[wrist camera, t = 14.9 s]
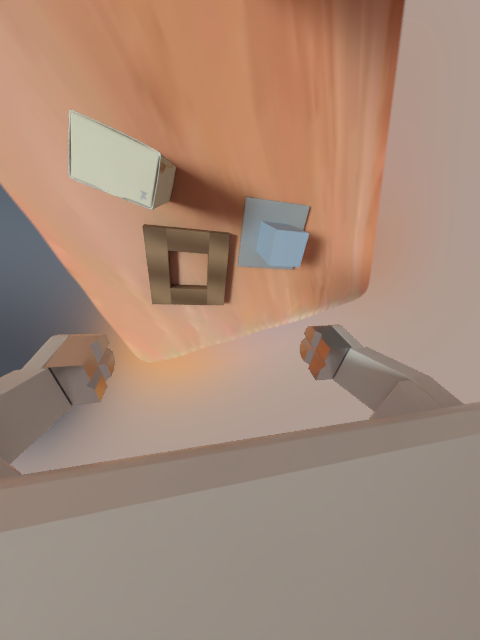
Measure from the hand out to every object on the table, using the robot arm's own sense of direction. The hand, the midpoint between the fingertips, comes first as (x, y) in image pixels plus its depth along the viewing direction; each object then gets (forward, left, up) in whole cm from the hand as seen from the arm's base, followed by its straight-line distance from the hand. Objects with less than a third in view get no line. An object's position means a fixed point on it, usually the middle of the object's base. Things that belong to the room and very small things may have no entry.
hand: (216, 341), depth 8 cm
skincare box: (-6, -7, -27) cm, 28 cm away
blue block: (0, +11, -26) cm, 28 cm away
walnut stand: (+6, -2, -26) cm, 27 cm away
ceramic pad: (0, +11, -26) cm, 29 cm away
